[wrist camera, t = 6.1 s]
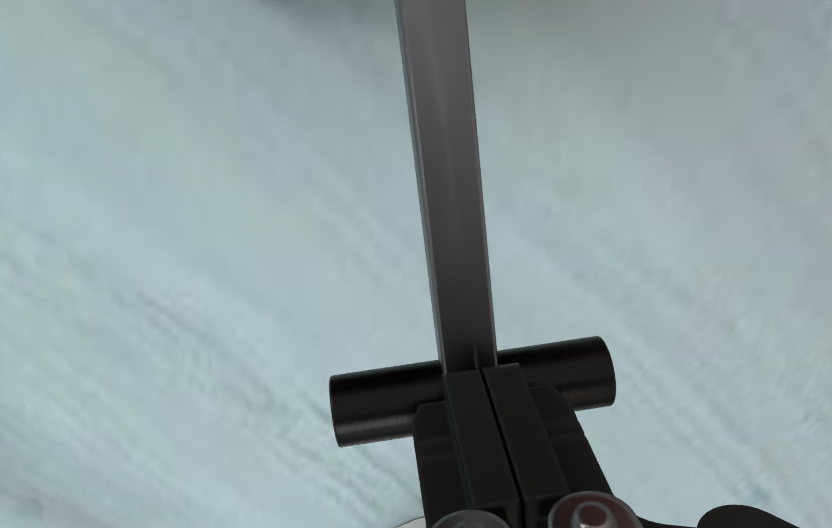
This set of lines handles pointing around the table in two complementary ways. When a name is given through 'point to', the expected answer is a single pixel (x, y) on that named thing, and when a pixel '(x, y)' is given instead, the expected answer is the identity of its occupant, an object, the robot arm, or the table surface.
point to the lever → (453, 251)
